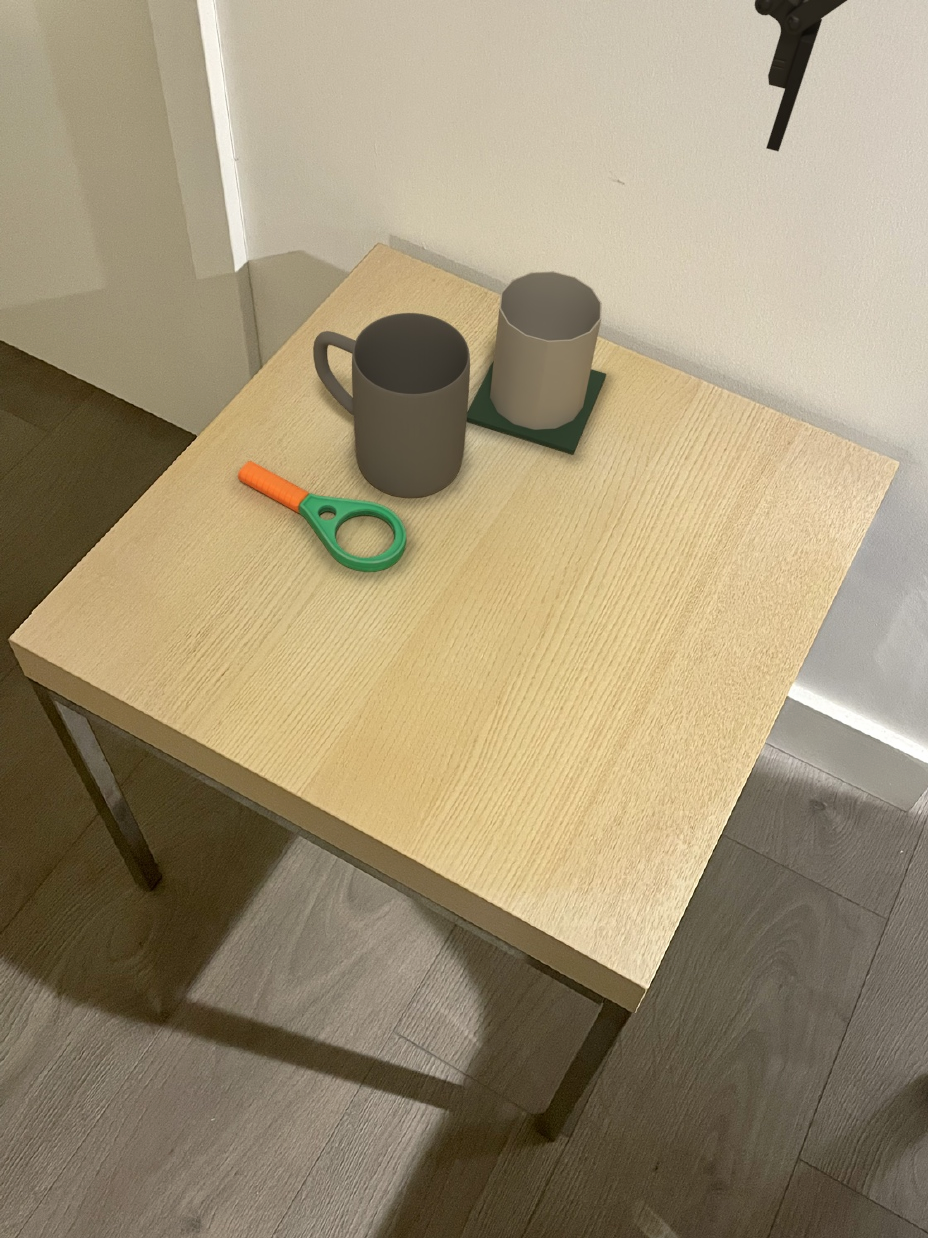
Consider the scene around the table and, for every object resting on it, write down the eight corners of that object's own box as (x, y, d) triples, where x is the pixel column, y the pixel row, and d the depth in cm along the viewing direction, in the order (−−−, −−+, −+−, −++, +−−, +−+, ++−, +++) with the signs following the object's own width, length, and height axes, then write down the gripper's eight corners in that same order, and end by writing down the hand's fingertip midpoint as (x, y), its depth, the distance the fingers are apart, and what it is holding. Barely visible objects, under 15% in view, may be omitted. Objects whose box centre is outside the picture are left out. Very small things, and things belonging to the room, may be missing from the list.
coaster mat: (605, 378, 97) (606, 373, 97) (573, 455, 92) (574, 450, 92) (501, 347, 99) (502, 342, 98) (464, 421, 94) (464, 416, 93)
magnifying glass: (420, 533, 87) (421, 520, 85) (379, 585, 84) (379, 572, 82) (268, 455, 90) (265, 441, 89) (223, 502, 87) (220, 488, 86)
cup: (519, 348, 98) (531, 258, 90) (599, 384, 96) (619, 295, 88) (472, 404, 94) (480, 315, 85) (555, 443, 92) (571, 356, 84)
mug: (482, 446, 92) (493, 339, 82) (428, 517, 88) (432, 413, 78) (348, 384, 95) (343, 274, 85) (289, 450, 91) (276, 342, 81)
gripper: (1379, -253, 46) (1106, 184, 64) (807, -359, 50) (699, 82, 67) (1400, -187, 42) (1102, 260, 60) (776, -307, 46) (670, 147, 64)
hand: (888, 166), depth 64 cm, fingers open, 13 cm apart
